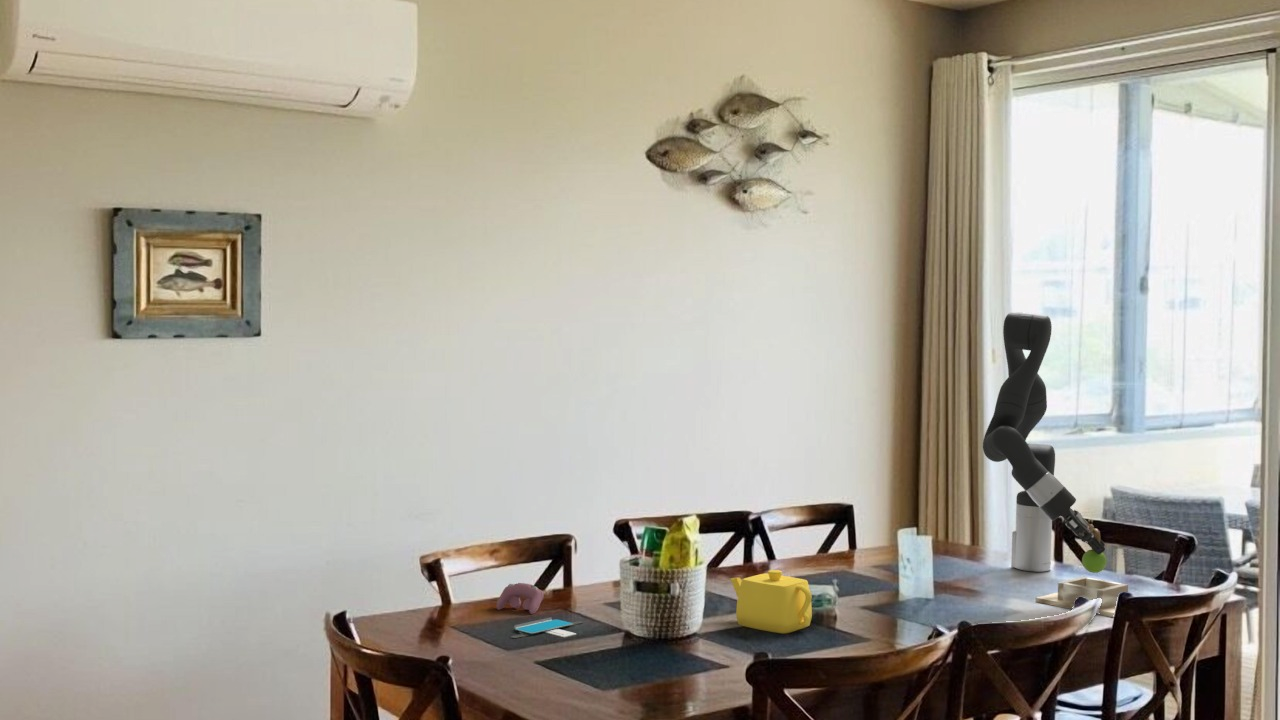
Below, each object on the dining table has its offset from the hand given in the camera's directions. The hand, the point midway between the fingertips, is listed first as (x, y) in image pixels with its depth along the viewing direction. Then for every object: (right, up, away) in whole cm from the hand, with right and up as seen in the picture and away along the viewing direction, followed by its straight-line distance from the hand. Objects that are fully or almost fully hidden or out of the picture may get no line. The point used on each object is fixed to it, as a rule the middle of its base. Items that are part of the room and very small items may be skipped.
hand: (1101, 549), depth 316 cm
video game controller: (-135, -11, -15) cm, 136 cm away
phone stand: (-127, -13, -34) cm, 132 cm away
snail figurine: (-2, -6, +1) cm, 6 cm away
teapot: (-80, -13, -24) cm, 84 cm away
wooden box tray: (-2, -13, +1) cm, 13 cm away
